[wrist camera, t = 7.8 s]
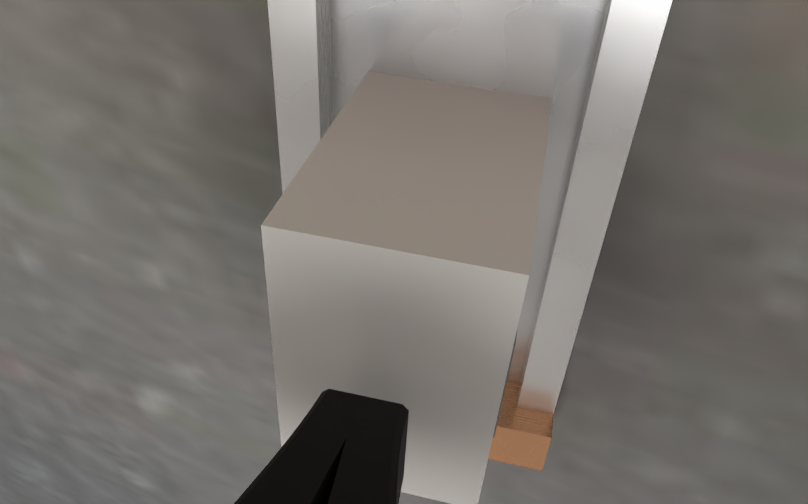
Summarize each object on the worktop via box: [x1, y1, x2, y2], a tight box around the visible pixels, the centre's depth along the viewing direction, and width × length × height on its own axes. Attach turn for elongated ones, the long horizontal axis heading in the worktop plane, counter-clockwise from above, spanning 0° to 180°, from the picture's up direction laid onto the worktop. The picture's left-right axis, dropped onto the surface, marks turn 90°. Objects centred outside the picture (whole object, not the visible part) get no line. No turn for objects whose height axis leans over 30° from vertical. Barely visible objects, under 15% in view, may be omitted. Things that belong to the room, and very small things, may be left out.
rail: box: [268, 0, 672, 471], centre depth 15 cm, size 15×8×4 cm, turn 177°
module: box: [261, 72, 552, 504], centre depth 14 cm, size 6×4×6 cm
